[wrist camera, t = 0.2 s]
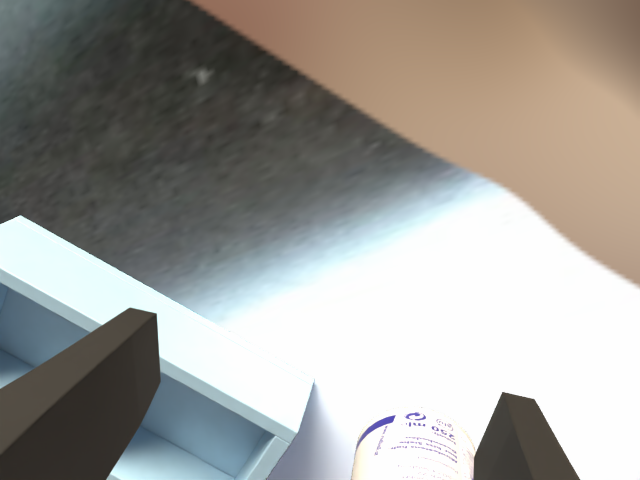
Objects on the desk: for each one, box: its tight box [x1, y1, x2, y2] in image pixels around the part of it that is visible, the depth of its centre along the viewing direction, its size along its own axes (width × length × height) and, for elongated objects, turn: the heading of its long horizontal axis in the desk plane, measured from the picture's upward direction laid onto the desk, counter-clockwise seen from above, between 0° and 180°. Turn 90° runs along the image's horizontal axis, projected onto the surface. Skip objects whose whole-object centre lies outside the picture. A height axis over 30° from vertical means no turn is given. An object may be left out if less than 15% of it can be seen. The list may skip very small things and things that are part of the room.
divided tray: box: [0, 216, 314, 480], centre depth 25 cm, size 15×15×4 cm
